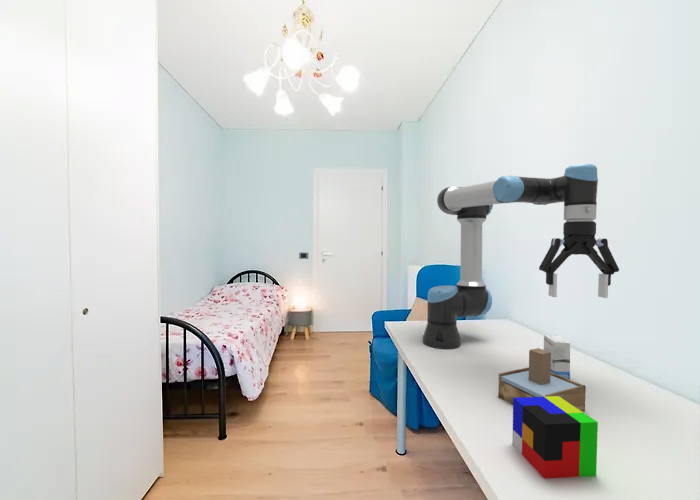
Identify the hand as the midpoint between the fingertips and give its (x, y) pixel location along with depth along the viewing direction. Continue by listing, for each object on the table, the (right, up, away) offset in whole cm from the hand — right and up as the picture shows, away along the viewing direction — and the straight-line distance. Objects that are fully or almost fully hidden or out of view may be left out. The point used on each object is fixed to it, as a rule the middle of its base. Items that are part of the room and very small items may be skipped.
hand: (577, 296), depth 93 cm
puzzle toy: (-25, -28, -28) cm, 47 cm away
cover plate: (-15, -22, -7) cm, 27 cm away
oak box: (-14, -27, -7) cm, 31 cm away
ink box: (+2, -27, +12) cm, 29 cm away
